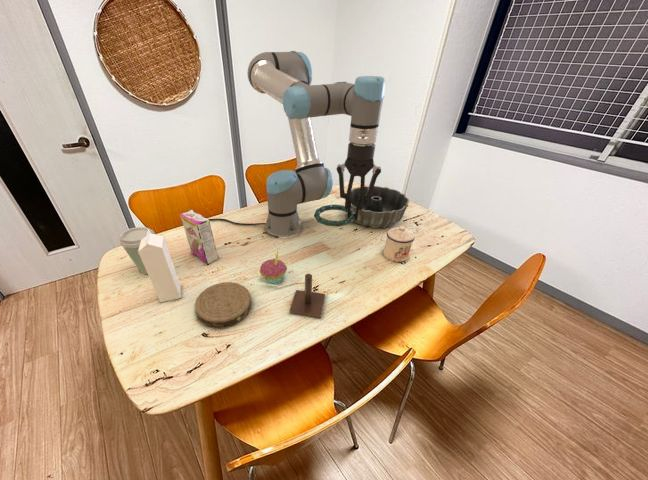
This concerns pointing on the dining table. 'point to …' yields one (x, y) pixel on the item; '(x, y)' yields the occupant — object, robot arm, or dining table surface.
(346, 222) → the ring
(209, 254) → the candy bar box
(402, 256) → the teacup with lid
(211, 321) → the wood slice
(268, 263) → the cupcake
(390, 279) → the dining table surface
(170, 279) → the milk
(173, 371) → the dining table surface
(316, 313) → the post
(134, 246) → the disposable coffee cup
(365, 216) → the bundt pan
